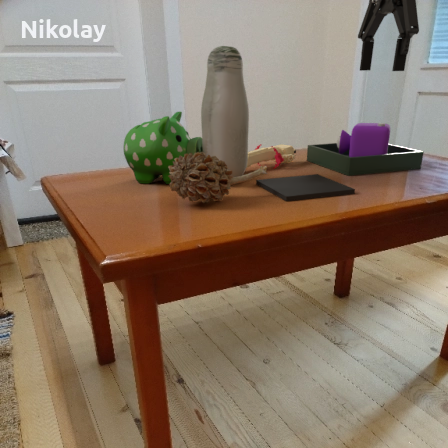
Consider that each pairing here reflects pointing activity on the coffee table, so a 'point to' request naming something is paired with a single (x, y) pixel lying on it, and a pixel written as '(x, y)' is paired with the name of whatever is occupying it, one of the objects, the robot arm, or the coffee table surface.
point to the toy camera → (365, 140)
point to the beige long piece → (271, 154)
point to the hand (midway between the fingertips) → (380, 70)
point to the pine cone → (204, 177)
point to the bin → (364, 159)
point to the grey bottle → (225, 110)
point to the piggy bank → (158, 147)
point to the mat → (304, 187)
